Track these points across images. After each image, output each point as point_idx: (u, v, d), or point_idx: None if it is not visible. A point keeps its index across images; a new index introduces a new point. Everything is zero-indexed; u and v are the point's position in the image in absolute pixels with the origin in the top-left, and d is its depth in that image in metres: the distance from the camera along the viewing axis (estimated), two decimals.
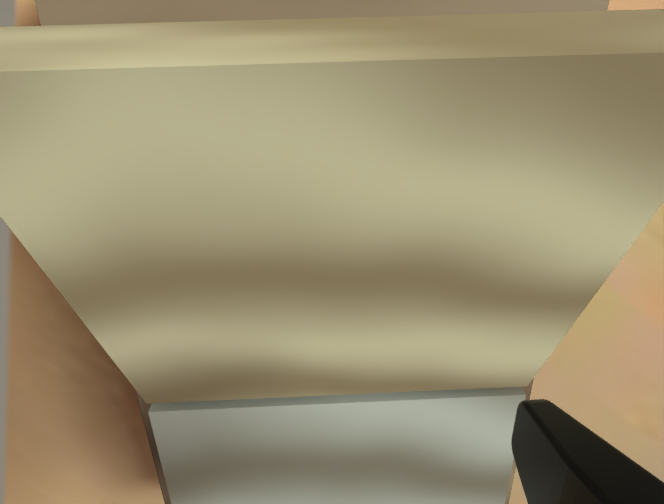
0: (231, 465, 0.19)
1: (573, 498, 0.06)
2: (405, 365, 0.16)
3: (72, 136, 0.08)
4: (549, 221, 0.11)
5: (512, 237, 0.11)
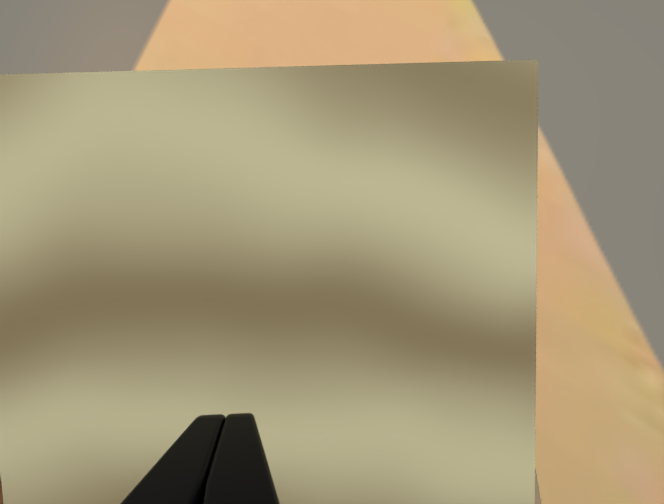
0: None
1: None
2: (356, 487, 0.13)
3: (57, 126, 0.12)
4: (445, 224, 0.12)
5: (418, 244, 0.12)
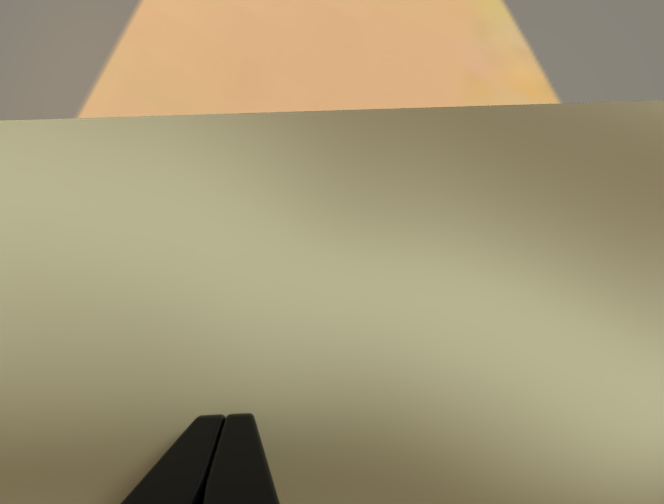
0: None
1: None
2: None
3: None
4: (526, 359, 0.08)
5: (482, 392, 0.08)
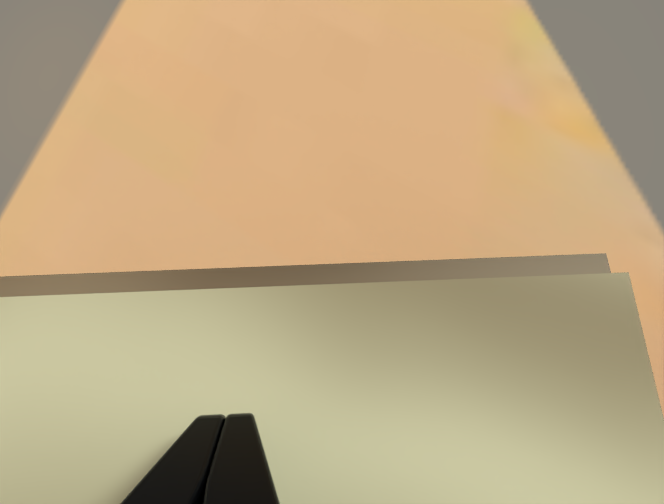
0: None
1: None
2: None
3: None
4: None
5: None
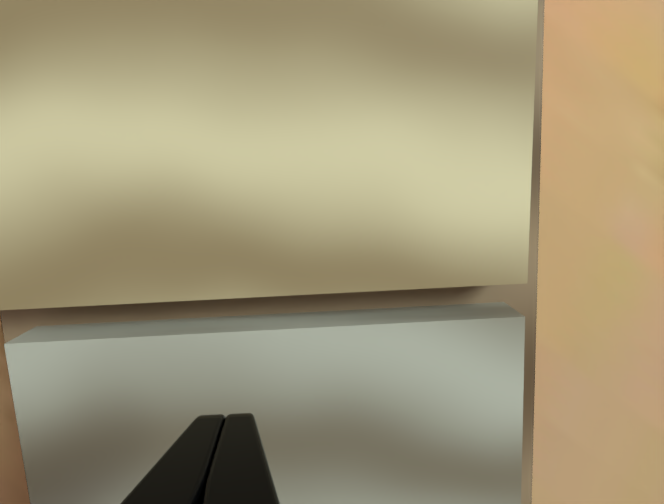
0: (118, 440, 0.13)
1: None
2: (344, 211, 0.12)
3: None
4: None
5: None
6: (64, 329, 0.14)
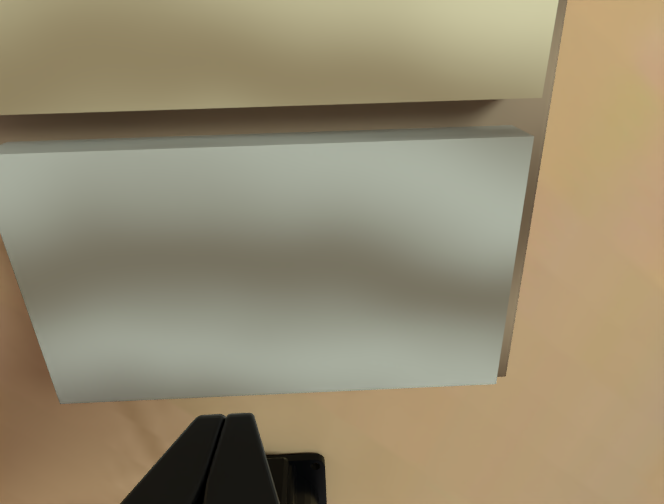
0: (109, 258, 0.13)
1: None
2: (344, 3, 0.11)
3: None
4: None
5: None
6: (38, 144, 0.13)
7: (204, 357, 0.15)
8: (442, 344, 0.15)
